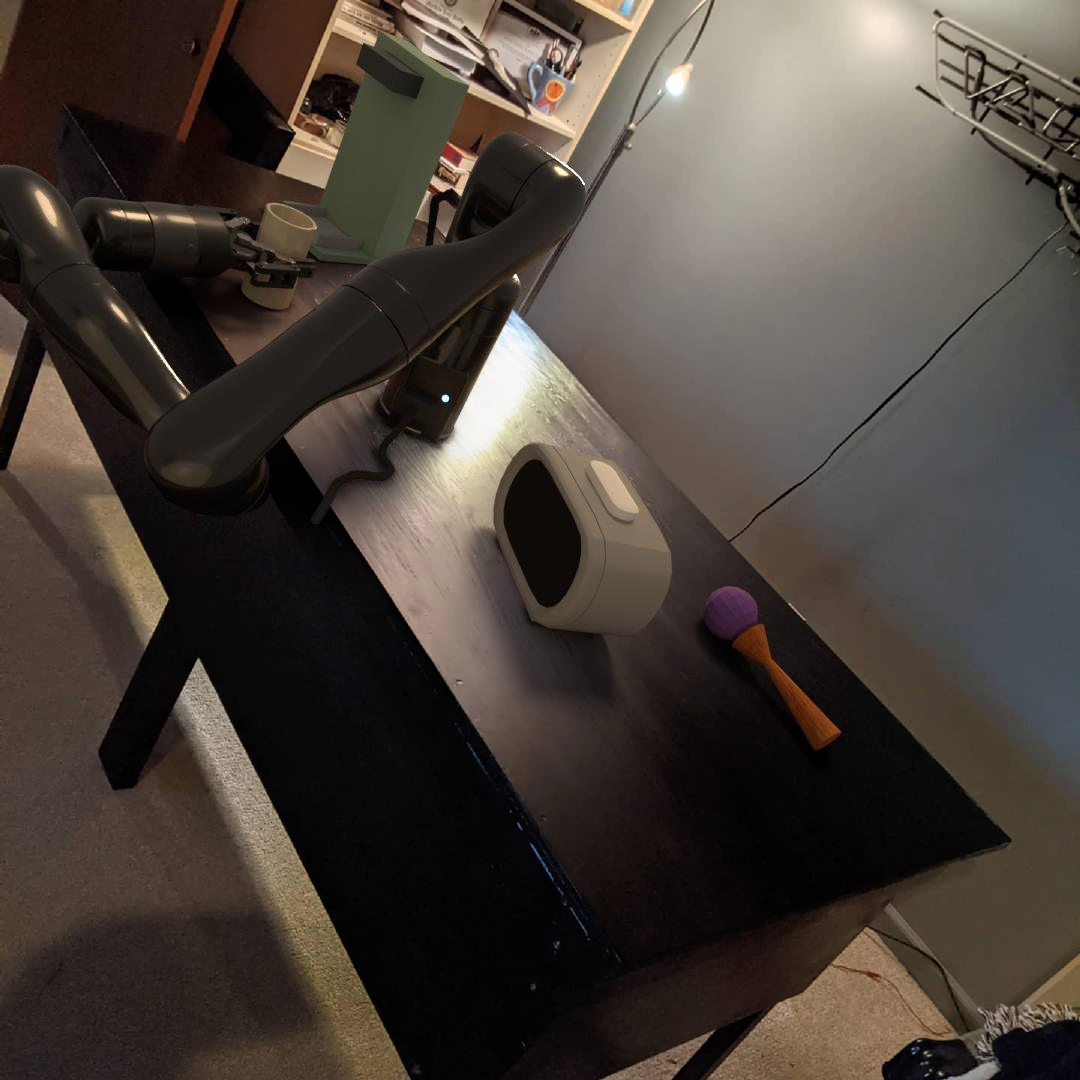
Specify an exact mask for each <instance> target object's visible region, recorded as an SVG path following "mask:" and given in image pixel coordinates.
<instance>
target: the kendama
mask: <svg viewBox="0 0 1080 1080" xmlns="http://www.w3.org/2000/svg"><path fill="white" fill-rule="evenodd" d="M702 614H703V619H704V624H705V626H706V627H707V628H708V630H709V631H710V632H711V633H712V634H714V635H715V636H717V637H719V639H723V640H727V641H733V643H732V644H731V648H733V649H734V650H736V651H739V652H740V653H742V654H743V655H745V656H748V657H749V658H750V659H753V660H754V661H756V662H758V663H760V664H762V665H763V667H764V669H765V671H766V672H767V673H768V675H769V677H770V679H771V681H772V682H773V684H774V685H775V688H776V689H777V691H778V692H779V694H780V695H781V697H782V699H783V701H784V702H785V704H786V706H787V708H788V709H789V711H790V713H791V714H792V716H793V718H794V719H795V721H796V723H797V724H798V726H799V727H800V730H801V731H802V733H803V735H804V736H805V737H806V740H807V741H808V743H809V744H810V746H811V748H812V749H813V751H814V752H816V751H819V750H821V749H823V748H824V747H826V746H827V745H829V744H831V743H832V742H833V741H835V740H836V739H838V737H839V736H841V734H842V731H841V730H840V729H839V728H838V727H837V726H836V725H835V724H834V723H833V722H832V721H831V720H830V719H829V717H827V716H826V714H825V713H824V712H823V711H822V710H821V709H820V708H819V707H818V706H817V705H816V704H815V703H814V702H813V701H812V700H811V699H810V698H809V696H808V695H806V694H805V692H804V691H803V690H802V689H801V688H800V687H799V686H798V685H797V684H796V683H795V682H794V680H793V679H792V678H791V677H790V676H788V675H787V674H786V672H785V671H784V670H783V669H782V668H781V667H780V666H779V665H778V664H777V663H776V662H775V661H774V660H773V659H772V656H771V652H770V646H769V641H768V638H767V633H766V628H765V625H764V624H763V623H758V616H759V609H758V605H757V601H756V600H755V599H754V598H753V596H751V594H750V593H749V592H747V591H746V590H744V589H742V588H740V587H739V586H730V585H729V586H723V587H721V588H718V589H716V590H714V591H713V592H712V593H711V594H710V595H709V596H708V597H707V598H706V600H705V602H704V606H703V612H702ZM757 623H758V624H757Z"/></svg>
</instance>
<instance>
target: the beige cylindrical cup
mask: <svg viewBox="0 0 1080 1080" xmlns="http://www.w3.org/2000/svg"><path fill="white" fill-rule="evenodd" d="M267 204H268V205H267V206H266V205H265V206H266V208H265V207H264V209H265V211H264V212H263V215H262V218H261V221H260V223H261V224H260V227H259V231H258V234H257V237H256V240H255V241H257V242H259V243H262V244H265V245H268V246H270V247H273V248H274V249H275V251H276V253H278V254H280V255H283V256H286V257H289V258H304V259H307V257H308V254H309V252H310V251H309V248H310V245H311V242H312V239H313V236H314V233H315V230H316V228H317V226H316V223H315V222H314V221H313V220H312V219H311V218H310V217H309V216H307V215H306V214H304V213H303V212H301V211H299V210H297V209H294V208H292V207H289V206H287V205H284V204H282V203H278V202H269V203H267ZM266 257H267V254H266V253H264V252H262V254H261V257H260V261H259V263H262V261H265V260H266ZM273 264H283V263H281V262H278V261H274V262H273ZM299 279H300V278H297V280H296V283H295V287H294V289H282V288H264V287H255V286H253V285H251V284H250V280H251V275H250V274H249V273H248V272H244V276H243V278H242V282H241V287H240V290H241V292H242V294H243V295H244V296H245V297H246V298H247V299H249V300H250V301H252V302H253V303H255V304H257V305H259V306H262V307H264V308H267V309H272V310H277V311H279V310H280V311H281V310H286V309H288V308H289V307H290V305H291V302H292V299H293V296H294V293H295V291H296V288H297V284H298V282H299Z"/></svg>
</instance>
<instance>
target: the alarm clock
mask: <svg viewBox="0 0 1080 1080" xmlns="http://www.w3.org/2000/svg"><path fill="white" fill-rule="evenodd" d="M641 498H642V497H640V495H639V494H638V492H637V491H636V489H635V487H634V486H633V483H631V481H630V479H629V477H628V476H627V475H626V474H625V472H624V471H623V470H622V469H621V467H619V465H618V464H617V463H616V462H615V461H614V460H611V459H608V458H603V457H599V456H595V455H592V454H588V453H584V452H580V451H577V450H576V451H575V450H573V449H568V448H564V447H562V446H561V447H560V446H556V445H553V444H548V443H546V442H545V443H544V442H538V441H531V442H529V443H528V444H525V445H523V446H522V447H521V448H520V449H519V450H518V451H517V452H516V453H515V455H514V456H513V457H512V458H511V460H510V462H509V463H508V465H507V466H506V468H505V470H504V472H503V474H502V476H501V479H500V481H499V483H498V487H497V489H496V492H495V496H494V502H493V508H492V511H493V512H492V513H493V516H492V520H493V521H492V523H493V526H494V530H495V533H496V536H497V540H498V544H499V546H500V549H501V552H502V554H503V557H504V558H505V561H506V563H507V566H508V569H509V570H510V573H511V575H512V578H513V580H514V582H515V584H516V587H517V589H518V592H519V594H520V596H521V598H522V601H523V603H524V606H525V608H526V611H527V613H528V615H529V617H530V620H531V621H532V622H535V623H537V624H539V625H541V626H543V627H545V628H548V629H553V630H554V629H555V630H563V631H572V632H580V633H588V634H589V633H590V634H596V635H597V634H598V635H606V636H616V637H622V638H623V637H630V636H634V635H635V634H637V633H638V632H640V631H641V630H643V629H645V627H647V625H648V624H649V623H650V622H651V621H652V620H653V619H654V618H655V616H656V614H657V613H658V612H659V611H660V609H661V607H662V605H663V603H664V601H665V599H666V597H667V594H668V591H669V590H670V585H671V579H672V574H673V567H672V566H673V565H672V552H671V550H670V548H669V546H668V544H667V542H666V539H665V537H664V535H663V534H662V531H661V529H660V526H659V525H658V524H657V523H656V520H655V519H654V518H653V516H652V514H651V513H650V511H649V510H648V508H647V506H646V505H645V502H643V500H642V499H641Z"/></svg>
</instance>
